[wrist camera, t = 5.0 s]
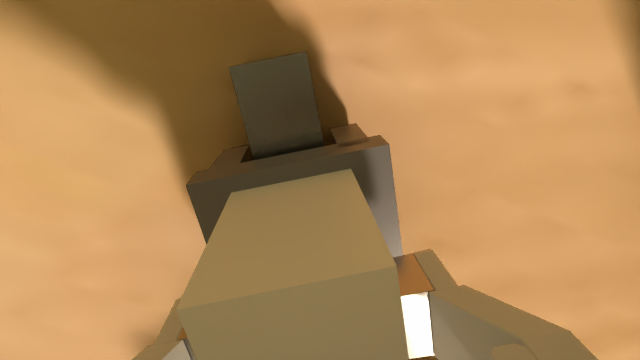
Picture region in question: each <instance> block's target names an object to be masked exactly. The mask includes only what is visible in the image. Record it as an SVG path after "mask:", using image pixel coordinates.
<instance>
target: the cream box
mask: <svg viewBox="0 0 640 360" xmlns="http://www.w3.org/2000/svg"><path fill="white" fill-rule="evenodd" d="M330 129H331V135H332V140H333V145H328V146H323V147H318V148H313V149H308V150H303V151H298V152H293V153H288V154H283V155H278V156H273V157H268V158H263V159H258V160H253V158H252V154H251V150H250V147H249V145H246V146H241V147H236V148H231V149H226V150H223V152H222V153H221V154H220V156H219V157H218V158H217V159H216V161H215V162H214V163H213V165H212V166H211V167H210V169H209V170H204V171H199V172H196V173H195V175H194V176H193V177H192V178H191V179H190V181H189V182H188V183H187V184H186V187H187V190H188V193H189V196H190V199H191V201H192V204H193V207H194V210H195V213H196V216H197V219H198V221H199V224H200V227H201V230H202V233H203V236H204V239H205V241H206V244H207V245H206V247H205V249H204V251H203V253H202V255H201V258H200V260H199V262H198V264H197V266H196V268H195V270H194V272H193V275H192V277H191V279H190V281H189V283H188V285H187V287H186V289H185V292H184V294H183V296H182V298H181V300H180V302H179V304H178V306H177V309H176V311H177V313H178V316H179V318H180V320H181V323H182V325H183V328H184V330H185V332H186V335H187V337H188V340H189V342H190V344H191V347H192V349H193V352H194V354H195V356H196V359H197V360H409V355H408V348H407V340H406V332H405V325H404V317H403V310H402V302H401V295H400V287H399V280H398V272H397V265H396V263H395V261H394V259H393V257H397V256H402V255H403V252H402V244H401V236H400V228H399V220H398V212H397V203H396V195H395V187H394V179H393V171H392V163H391V155H390V147H389V144H388V143H387V142H386V141H385V140H384V139H383V138H382V137H381V136H380V135H378V136H373V137H367V136H366V135H365V134H364V133H363V131H362V130H361V129H360V128H359V127H358V125H357V124H356V123H355V124H350V125H345V126H340V127H335V128H330Z"/></svg>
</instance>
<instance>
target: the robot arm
mask: <svg viewBox="0 0 640 360" xmlns="http://www.w3.org/2000/svg"><path fill="white" fill-rule="evenodd" d="M393 259H394V261H395V263H396V265H397V272H398V280H399V287H400V295H401V302H402V310H403V317H404V325H405V332H406V340H407V348H408V355H409V359H412V358H418V357H425V356H431V355H434V356H435V357H436V358H437V359H438V360H598V359H597V358H596V357H595V356H594V355H593V354H592V353H591V352H590V351H589V350H588V349H587V348H586V347H585V346H584V345H583V344H582V343H581V342H580V341H579V340H578V339H577V338H576V337H575V336H574V335H573V334H572V333H571V332H570V331H569V330H566V329H564V328H562V327H559V326H557V325H555V324H552V323H550V322H548V321H546V320H543V319H541V318H539V317H536V316H534V315H532V314H529V313H527V312H525V311H523V310H520V309H518V308H516V307H513V306H511V305H509V304H506V303H504V302H502V301H500V300H497V299H495V298H493V297H490V296H488V295H486V294H483V293H481V292H479V291H477V290H474V289H472V288H470V287H467V286H465V285H462V286H458V285H457V284H456V282H455V281H454V279H453V278H452V277H451V275H450V274H449V272H448V271H447V269H446V268H445V267H444V265H443V264H442V262H441V261H440V260H439V258H438V257H437V255H436V254H435V253H434V251H433V250H431V249H427V250H423V251H419V252H414V253H412V254H407V255H402V256H397V257H393ZM180 300H181V298H179V299H177V300H176V301H175V303H174V305H173V307H172V309H171V311H170V313H169V315H168V317H167V319H166V321H165V324H164V326H163V328H162V330H161V332H160V334H159V336H158V338H157V340H156V342H155V344H154V345H153V346H148V347H147V348H145V349H144V350H143V351H142V352H141V353H139V354H138V355H137V356H136V357H135V358H133V359H132V360H197V359H196V356H195V354H194V352H193V349H192V347H191V344H190V342H189V340H188V337H187V335H186V332H185V330H184V328H183V325H182V323H181V320H180V318H179V316H178V313H177V311H176V309H177V306H178V304H179V302H180Z"/></svg>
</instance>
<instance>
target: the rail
mask: <svg viewBox="0 0 640 360" xmlns="http://www.w3.org/2000/svg"><path fill="white" fill-rule="evenodd" d="M229 69H230V73H231V77H232V81H233V84H234V88H235V92H236V96H237V99H238V103H239V107H240V110H241V114H242V118H243V122H244V125H245V129H246V133H247V136H248V140H249V144H250V148H251V151H252V155H253V159H254V160H258V159H263V158H268V157H273V156H278V155H283V154H288V153H293V152H298V151H303V150H308V149H313V148H318V147H323V146H324V141H323V135H322V130H321V125H320V120H319V115H318V109H317V104H316V99H315V94H314V88H313V83H312V78H311V73H310V67H309V62H308V57H307V52H301V53H296V54H291V55H286V56H281V57H276V58H271V59H266V60H261V61H257V62H252V63H247V64H242V65H237V66H232V67H229Z"/></svg>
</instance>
